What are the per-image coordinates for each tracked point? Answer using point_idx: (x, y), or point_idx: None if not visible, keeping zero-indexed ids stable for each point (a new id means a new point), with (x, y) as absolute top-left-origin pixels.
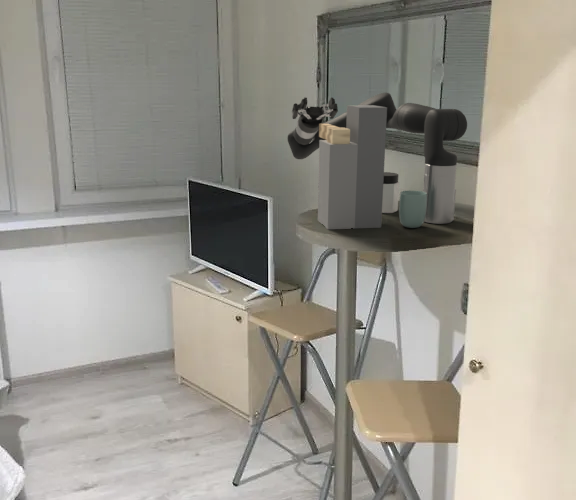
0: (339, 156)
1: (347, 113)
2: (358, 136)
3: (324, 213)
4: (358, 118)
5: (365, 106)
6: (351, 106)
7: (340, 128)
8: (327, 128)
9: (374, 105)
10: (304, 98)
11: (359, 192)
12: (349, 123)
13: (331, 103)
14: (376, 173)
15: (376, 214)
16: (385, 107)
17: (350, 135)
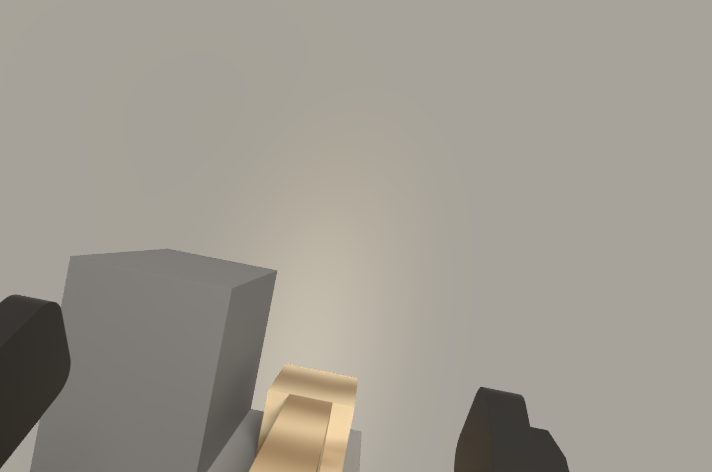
0: None
1: (228, 332)
2: (255, 378)
3: None
4: (268, 312)
5: (207, 265)
6: (253, 281)
7: (308, 381)
8: (353, 409)
9: (87, 255)
10: (519, 415)
11: None
12: (230, 372)
13: (56, 388)
14: None
15: None
16: (173, 250)
17: (226, 422)
